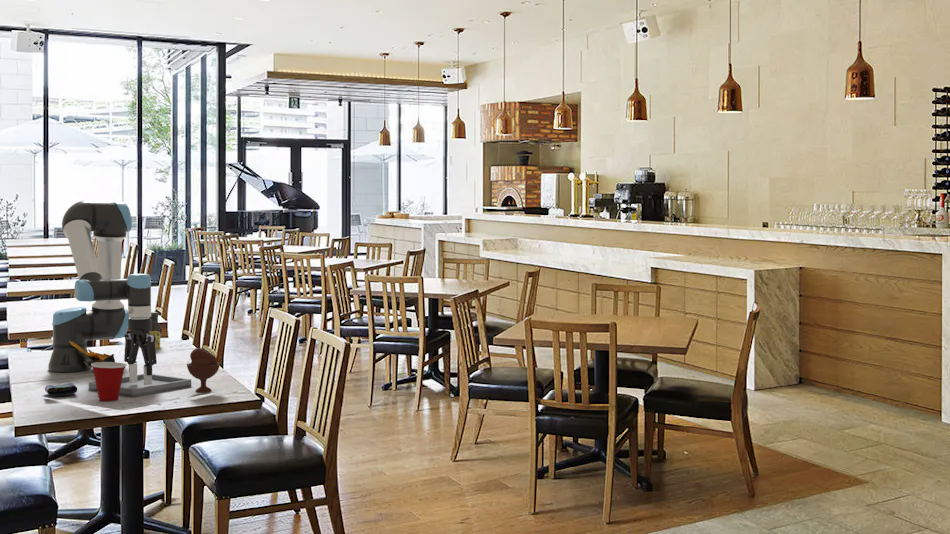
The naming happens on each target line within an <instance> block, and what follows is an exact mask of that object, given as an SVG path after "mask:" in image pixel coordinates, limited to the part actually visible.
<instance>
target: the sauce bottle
mask: <svg viewBox="0 0 950 534" xmlns="http://www.w3.org/2000/svg"><path fill="white" fill-rule="evenodd" d="M158 317H159V312H157V311H156V312H155V311H151V317H149V318H150V319H151V329H149V334H150V335H151V336H155V337H156V338H155V349H156V350H157V349H160V348H161V326H160V324H159V318H158Z"/></svg>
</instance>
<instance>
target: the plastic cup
mask: <svg viewBox="0 0 950 534" xmlns="http://www.w3.org/2000/svg"><path fill="white" fill-rule="evenodd" d="M91 366H92V368H91V369H92V372H93V376H94V382H96V388H97V391H96V392H97V397H98V401H100V402H114V401H117V400H119V397H120V395H119V392H120V388H121V382H122V377H123V376H124V372H125V369H126V367H127V363H123V362H116V361H115V362H96V363H92V364H91Z"/></svg>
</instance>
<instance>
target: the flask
mask: <svg viewBox="0 0 950 534" xmlns="http://www.w3.org/2000/svg"><path fill="white" fill-rule="evenodd" d="M44 391H45V392H46V393H47V394H48V396H68V395H73V394H75V393H77V392H78V387H77V386H76V385H75V384H74V383H71V382H69V383H64V384H58V385H51V384H49V385H46V386H45V387H44Z"/></svg>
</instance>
